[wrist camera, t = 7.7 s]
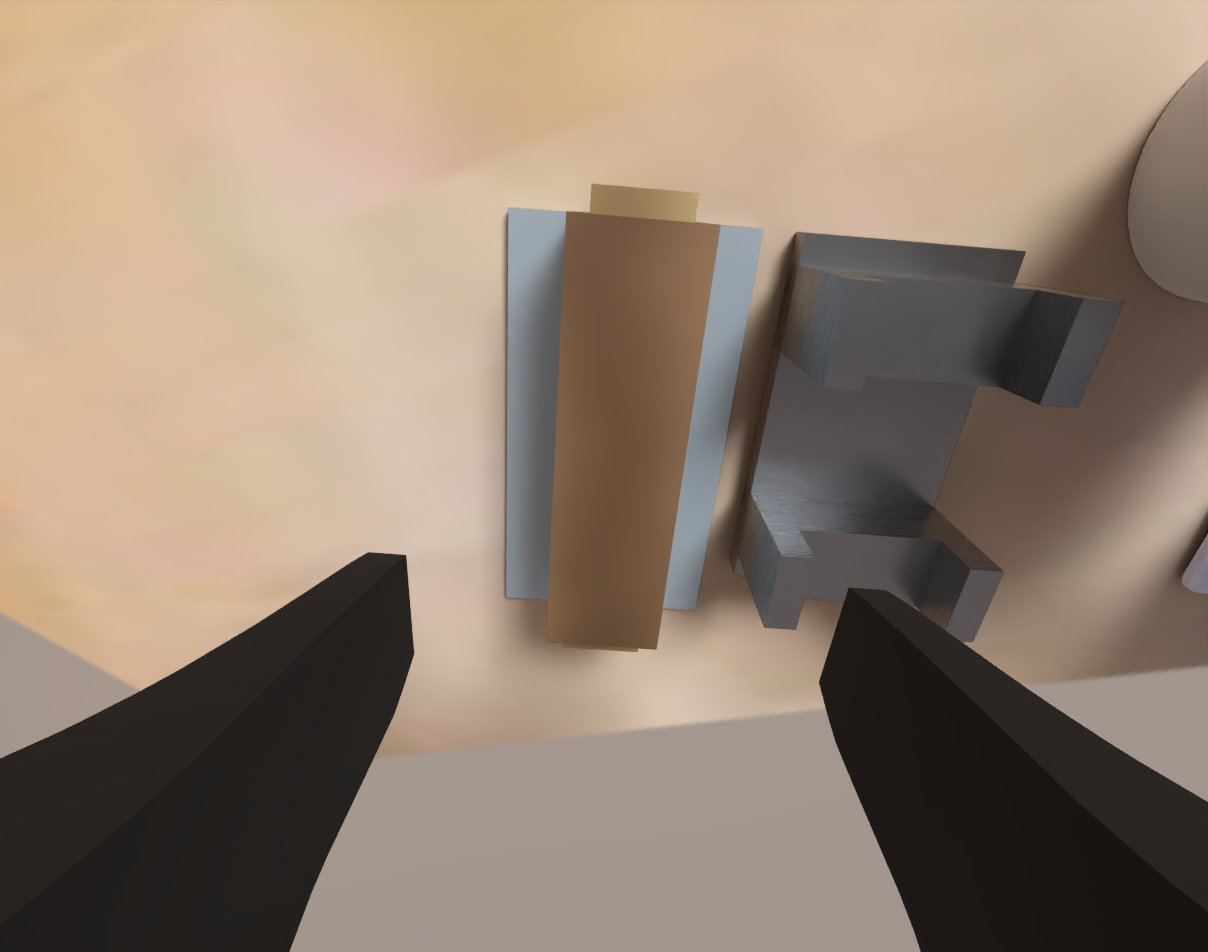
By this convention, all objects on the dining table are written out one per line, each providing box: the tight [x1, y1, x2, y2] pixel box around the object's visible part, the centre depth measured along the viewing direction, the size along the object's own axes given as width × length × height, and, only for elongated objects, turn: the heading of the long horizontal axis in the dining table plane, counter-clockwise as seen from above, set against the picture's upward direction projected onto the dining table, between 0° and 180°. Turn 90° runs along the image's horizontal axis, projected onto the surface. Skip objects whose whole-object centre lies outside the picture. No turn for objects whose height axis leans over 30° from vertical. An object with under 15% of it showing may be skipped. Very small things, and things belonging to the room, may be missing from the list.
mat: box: [506, 207, 763, 611], centre depth 18 cm, size 7×13×1 cm, turn 176°
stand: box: [730, 232, 1124, 642], centre depth 16 cm, size 6×11×4 cm, turn 176°
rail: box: [546, 184, 721, 652], centre depth 17 cm, size 3×13×3 cm, turn 176°
